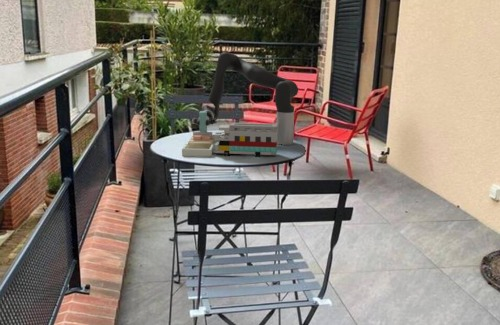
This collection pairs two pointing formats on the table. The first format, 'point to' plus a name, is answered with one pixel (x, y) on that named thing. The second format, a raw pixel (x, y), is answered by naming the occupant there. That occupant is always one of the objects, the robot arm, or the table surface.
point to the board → (201, 143)
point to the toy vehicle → (247, 139)
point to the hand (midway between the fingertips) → (202, 123)
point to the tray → (197, 151)
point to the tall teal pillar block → (203, 124)
